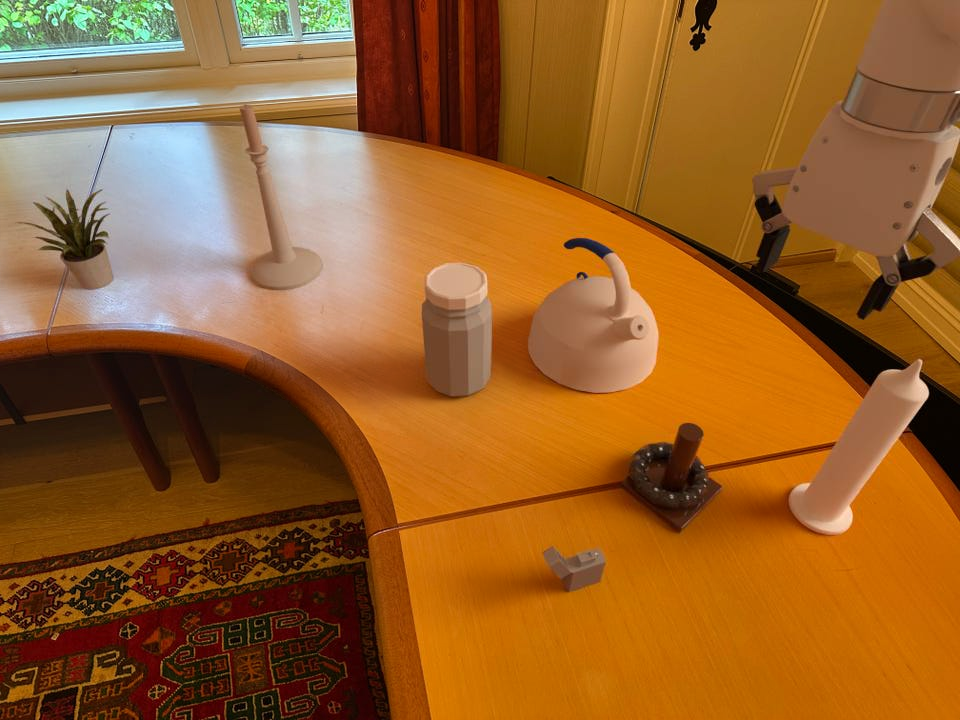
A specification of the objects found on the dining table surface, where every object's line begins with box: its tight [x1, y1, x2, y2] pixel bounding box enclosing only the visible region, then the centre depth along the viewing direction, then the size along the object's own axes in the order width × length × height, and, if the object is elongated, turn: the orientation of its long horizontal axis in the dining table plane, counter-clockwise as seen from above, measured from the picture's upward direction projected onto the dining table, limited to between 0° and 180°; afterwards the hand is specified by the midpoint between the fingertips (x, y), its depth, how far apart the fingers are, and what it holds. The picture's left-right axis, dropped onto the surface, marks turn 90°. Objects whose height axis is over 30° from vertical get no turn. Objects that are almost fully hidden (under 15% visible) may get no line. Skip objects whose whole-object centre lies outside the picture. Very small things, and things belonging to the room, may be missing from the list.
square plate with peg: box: [619, 422, 724, 534], centre depth 73 cm, size 9×9×11 cm
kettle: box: [527, 237, 659, 394], centre depth 90 cm, size 20×21×18 cm
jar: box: [421, 262, 493, 398], centre depth 85 cm, size 10×10×18 cm
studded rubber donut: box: [628, 441, 710, 509], centre depth 76 cm, size 10×10×2 cm
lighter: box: [541, 545, 607, 593], centre depth 64 cm, size 7×2×8 cm, turn 109°
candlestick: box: [239, 104, 324, 291], centre depth 102 cm, size 13×13×30 cm
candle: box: [788, 358, 930, 536], centre depth 66 cm, size 7×7×25 cm
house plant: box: [16, 188, 115, 290], centre depth 104 cm, size 14×14×16 cm
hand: (813, 288), depth 57 cm, fingers open, 9 cm apart
